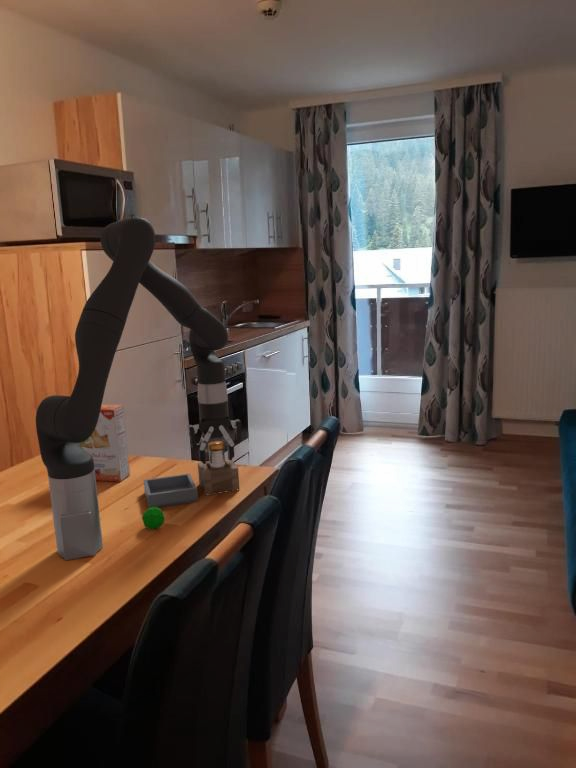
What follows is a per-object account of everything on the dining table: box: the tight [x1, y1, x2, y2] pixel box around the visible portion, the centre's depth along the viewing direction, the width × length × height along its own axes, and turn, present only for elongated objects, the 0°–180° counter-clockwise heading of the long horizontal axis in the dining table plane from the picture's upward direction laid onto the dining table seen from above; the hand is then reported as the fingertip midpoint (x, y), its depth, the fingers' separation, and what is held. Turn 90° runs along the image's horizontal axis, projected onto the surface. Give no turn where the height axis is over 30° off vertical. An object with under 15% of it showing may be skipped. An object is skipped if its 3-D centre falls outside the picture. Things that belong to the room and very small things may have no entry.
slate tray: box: [143, 473, 199, 509], centre depth 164 cm, size 12×12×4 cm
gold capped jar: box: [207, 440, 226, 470], centre depth 169 cm, size 4×4×12 cm
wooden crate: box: [197, 458, 240, 496], centre depth 169 cm, size 9×9×6 cm
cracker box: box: [79, 404, 131, 483], centre depth 179 cm, size 14×6×21 cm, turn 76°
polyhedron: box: [141, 507, 165, 531], centre depth 145 cm, size 5×5×5 cm
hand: (217, 461), depth 169 cm, fingers open, 6 cm apart
